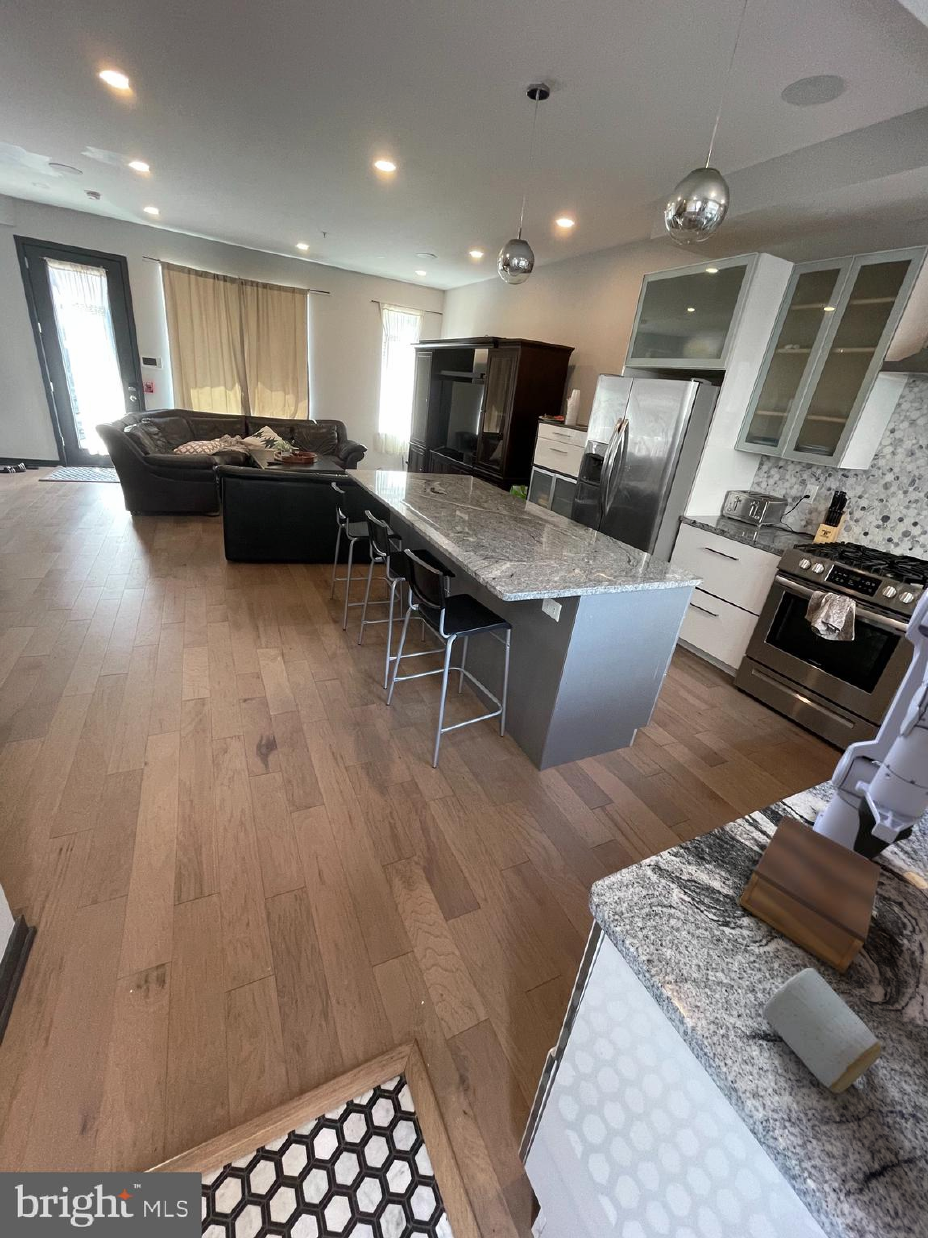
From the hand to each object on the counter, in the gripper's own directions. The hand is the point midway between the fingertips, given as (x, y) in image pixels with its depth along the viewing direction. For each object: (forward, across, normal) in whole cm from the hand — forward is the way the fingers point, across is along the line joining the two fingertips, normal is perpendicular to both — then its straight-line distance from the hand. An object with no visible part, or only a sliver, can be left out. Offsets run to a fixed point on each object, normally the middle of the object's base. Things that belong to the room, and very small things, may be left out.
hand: (862, 853), depth 68 cm
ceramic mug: (+10, +23, +2) cm, 25 cm away
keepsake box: (+10, +3, -3) cm, 11 cm away
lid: (+4, +3, -3) cm, 6 cm away
